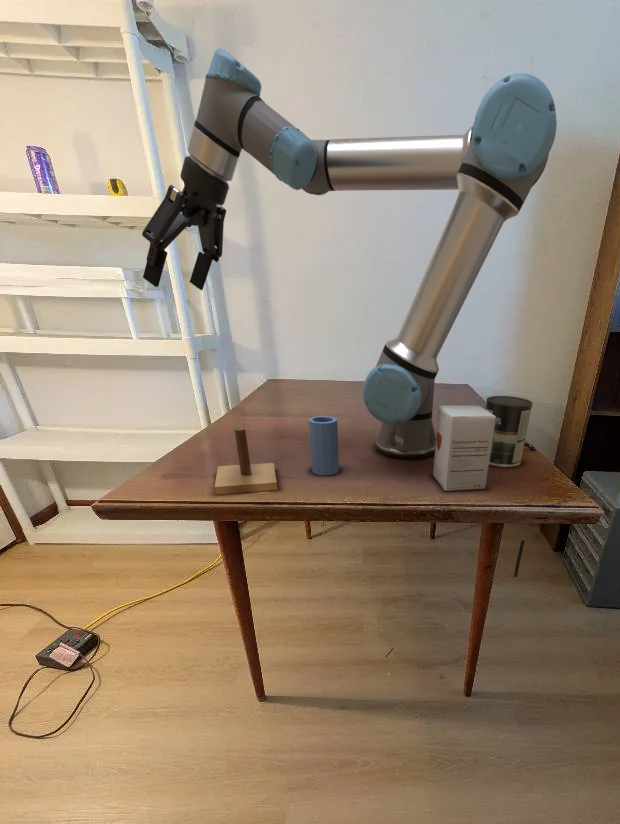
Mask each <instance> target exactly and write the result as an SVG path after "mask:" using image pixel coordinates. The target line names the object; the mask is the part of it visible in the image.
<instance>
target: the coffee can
mask: <svg viewBox="0 0 620 824" xmlns="http://www.w3.org/2000/svg"><path fill="white" fill-rule="evenodd" d="M533 405H534V403H533V402H532V400H529V399H527V398H523V397H518V396H510V395H492V396H488V397H487V398H486V405H485V410H487V411H488V412H490V413H491V414H493V415H494V416H496V420H495V427H494V433H493V440H492V446H491V453H490V459H489V466H492V467H497V468H515V467H517V466H520V465H521V464H522V459H523V452H524V448H525V446H524V443H526V438H527V437H526V436H527V433H528V428H529V427H528V426H529V421H530V416H531V411H532V408H533Z"/></svg>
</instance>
